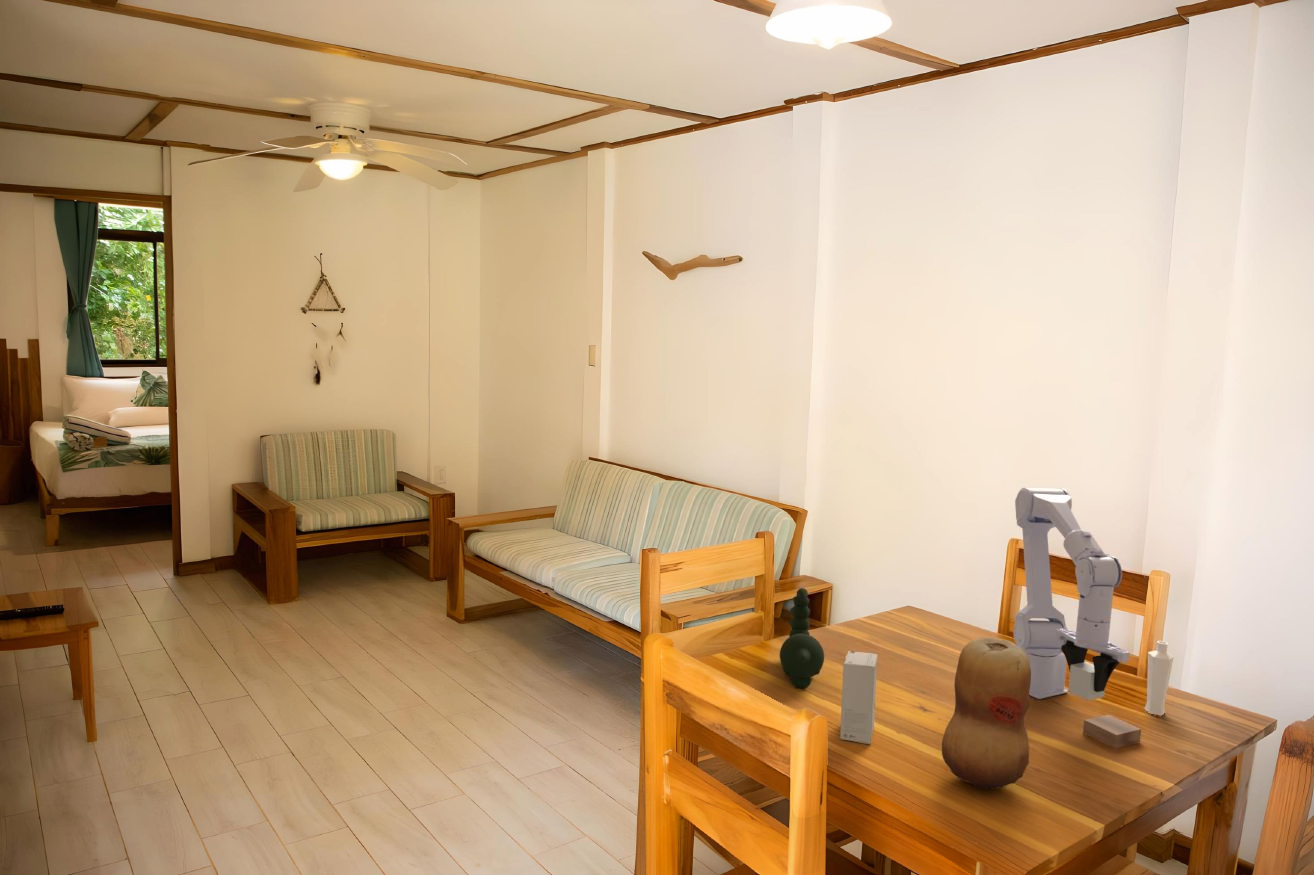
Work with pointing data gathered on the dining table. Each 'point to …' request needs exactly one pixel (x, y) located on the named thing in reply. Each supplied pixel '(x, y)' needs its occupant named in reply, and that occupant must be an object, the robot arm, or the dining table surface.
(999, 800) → the dining table surface
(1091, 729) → the walnut slab
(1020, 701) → the butternut squash
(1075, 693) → the grey block
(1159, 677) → the perfume bottle
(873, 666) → the skincare box
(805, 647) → the toy figurine
